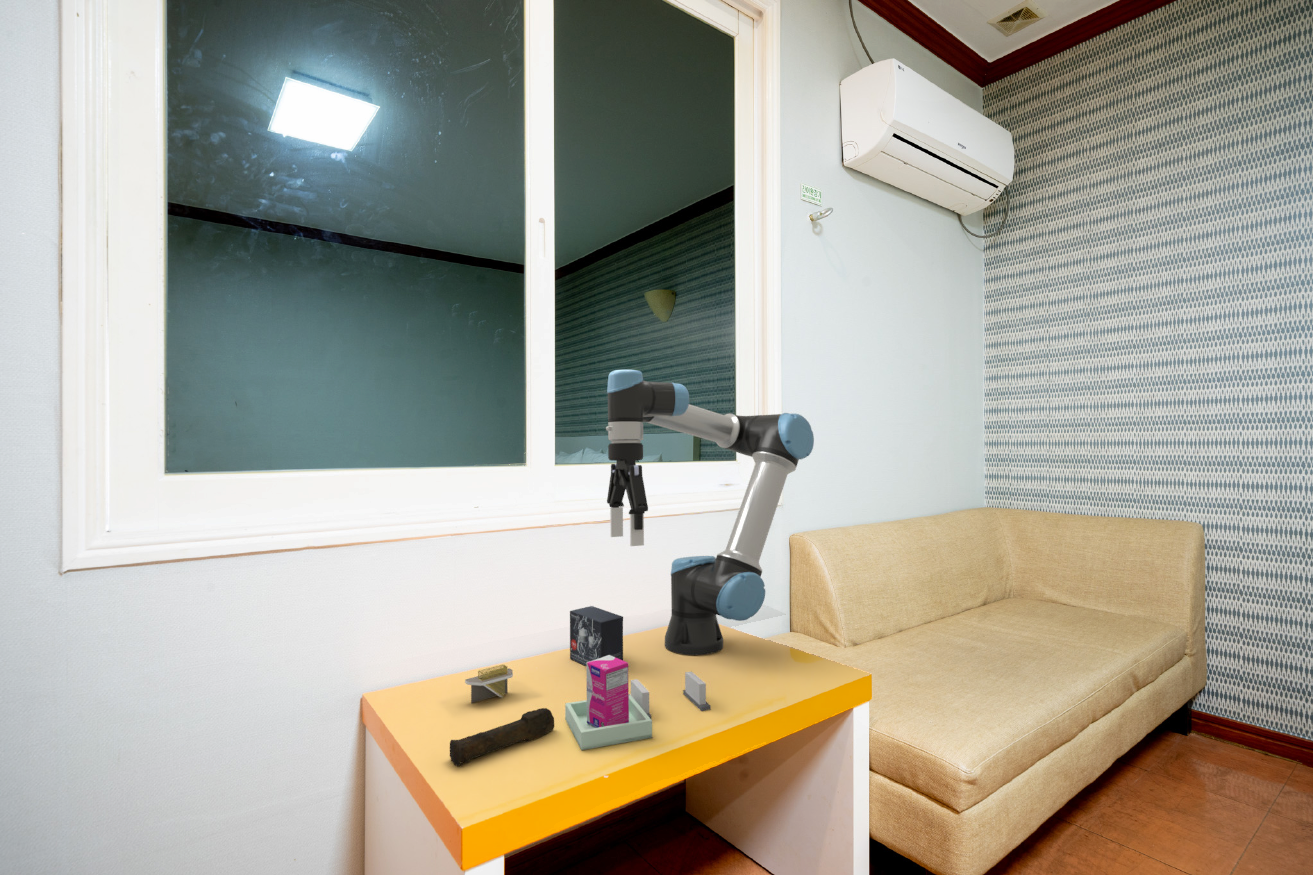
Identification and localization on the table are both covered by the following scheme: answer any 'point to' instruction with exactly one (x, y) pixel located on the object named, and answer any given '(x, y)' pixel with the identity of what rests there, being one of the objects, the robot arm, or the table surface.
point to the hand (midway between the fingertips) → (626, 541)
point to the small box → (595, 634)
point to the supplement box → (607, 692)
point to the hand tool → (502, 736)
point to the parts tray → (607, 735)
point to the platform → (489, 683)
